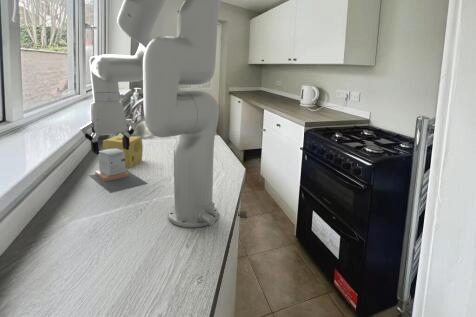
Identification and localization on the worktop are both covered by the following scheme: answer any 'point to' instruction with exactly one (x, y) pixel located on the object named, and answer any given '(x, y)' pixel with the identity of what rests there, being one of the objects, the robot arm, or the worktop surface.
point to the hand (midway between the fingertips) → (111, 151)
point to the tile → (107, 177)
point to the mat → (119, 182)
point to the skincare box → (111, 161)
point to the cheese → (130, 155)
